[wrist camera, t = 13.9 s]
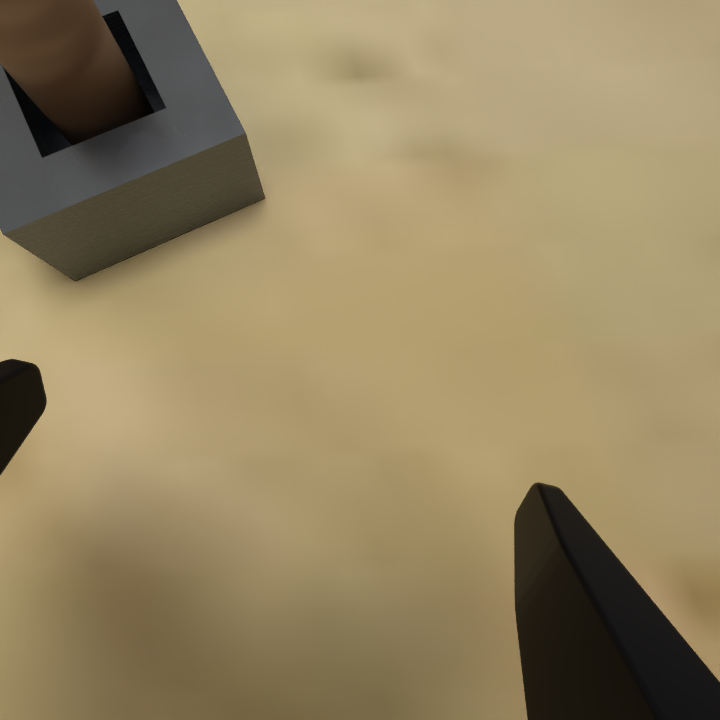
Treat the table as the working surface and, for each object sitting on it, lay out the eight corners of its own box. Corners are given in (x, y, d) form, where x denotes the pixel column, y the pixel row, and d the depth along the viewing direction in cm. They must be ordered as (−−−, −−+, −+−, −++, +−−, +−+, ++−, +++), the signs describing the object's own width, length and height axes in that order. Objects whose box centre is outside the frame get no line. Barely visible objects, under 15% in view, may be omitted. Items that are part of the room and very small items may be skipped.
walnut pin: (135, 200, 23) (-120, -114, 11) (72, 159, 24) (-250, -193, 11) (186, 141, 24) (5, -220, 11) (123, 101, 24) (-120, -291, 12)
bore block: (75, 281, 23) (2, 234, 18) (4, 115, 24) (-80, 30, 20) (265, 198, 24) (245, 133, 19) (186, 44, 26) (149, -52, 21)
